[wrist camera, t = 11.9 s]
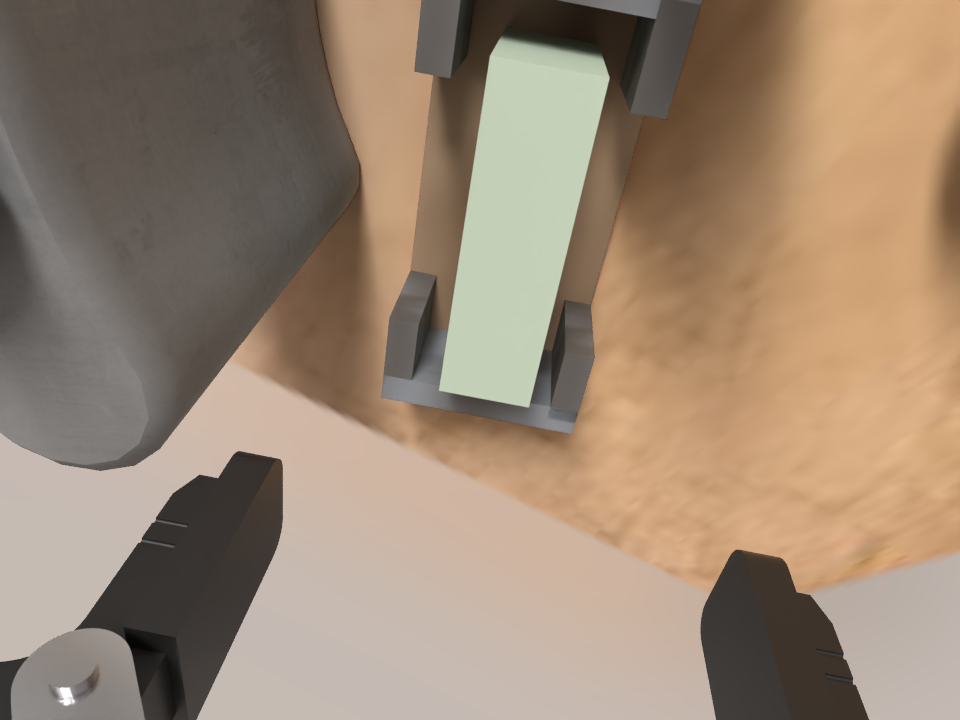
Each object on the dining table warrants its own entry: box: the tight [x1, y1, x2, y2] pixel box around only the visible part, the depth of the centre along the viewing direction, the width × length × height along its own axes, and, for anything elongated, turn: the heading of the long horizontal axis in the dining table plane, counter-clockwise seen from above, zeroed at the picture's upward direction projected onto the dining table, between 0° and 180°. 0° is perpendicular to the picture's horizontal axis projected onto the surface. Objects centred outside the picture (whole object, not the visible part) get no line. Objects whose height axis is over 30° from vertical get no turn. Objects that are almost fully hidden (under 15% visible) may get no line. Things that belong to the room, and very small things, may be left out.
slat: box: [439, 27, 609, 408], centre depth 26 cm, size 4×12×7 cm, turn 171°
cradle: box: [381, 0, 702, 434], centre depth 27 cm, size 8×17×5 cm, turn 171°
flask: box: [0, 0, 359, 471], centre depth 19 cm, size 15×6×20 cm, turn 4°
